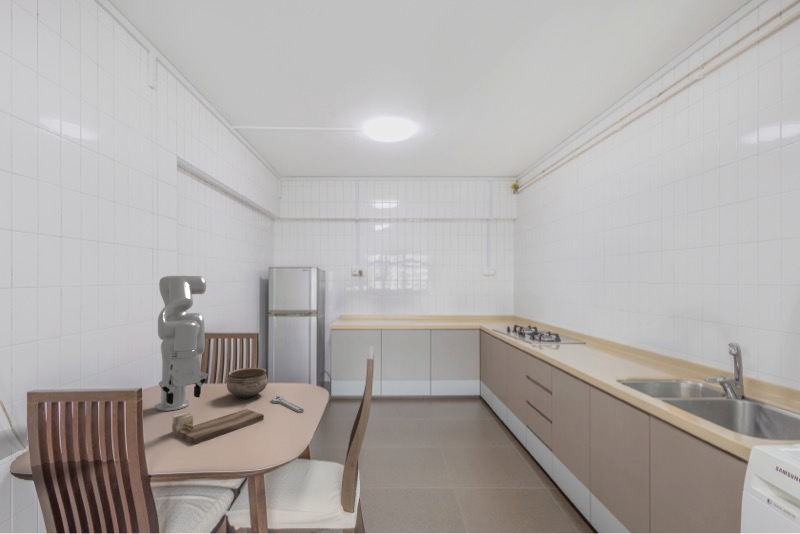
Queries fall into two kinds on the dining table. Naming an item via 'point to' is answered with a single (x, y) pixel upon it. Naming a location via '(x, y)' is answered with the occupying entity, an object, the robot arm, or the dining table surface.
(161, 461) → the dining table surface
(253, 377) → the cooking pot
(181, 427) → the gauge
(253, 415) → the board
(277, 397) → the adjustable wrench
